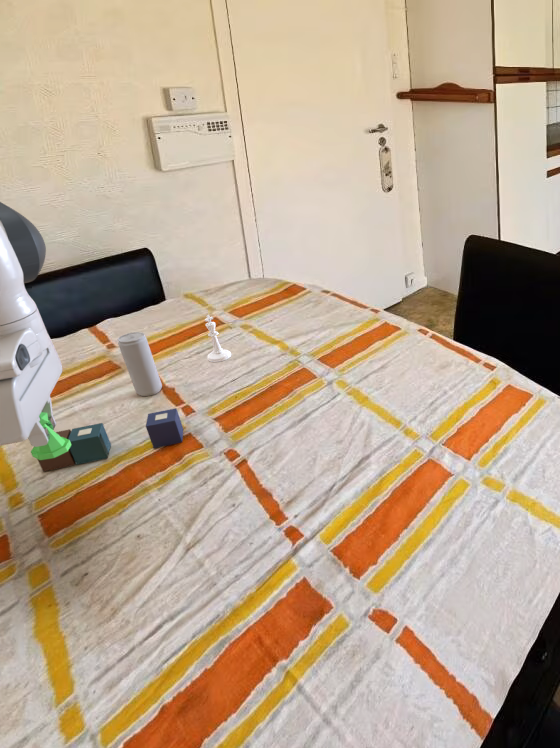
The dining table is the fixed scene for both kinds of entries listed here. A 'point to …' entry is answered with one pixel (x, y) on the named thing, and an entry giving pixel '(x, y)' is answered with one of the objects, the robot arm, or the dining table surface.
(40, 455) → the game piece
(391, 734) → the dining table surface
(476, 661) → the dining table surface
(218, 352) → the chess piece
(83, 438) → the letter blocks
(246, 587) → the dining table surface
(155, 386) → the beverage can
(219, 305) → the dining table surface
